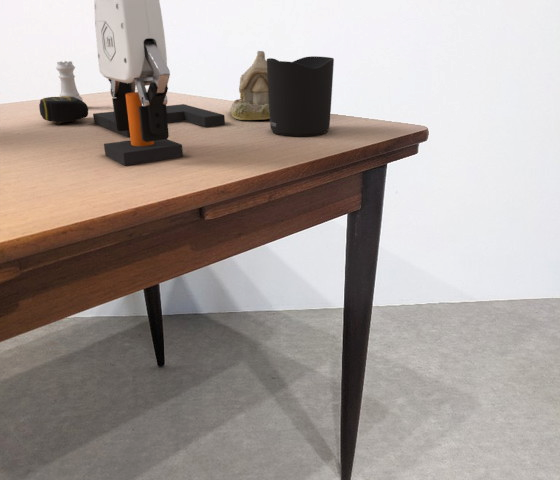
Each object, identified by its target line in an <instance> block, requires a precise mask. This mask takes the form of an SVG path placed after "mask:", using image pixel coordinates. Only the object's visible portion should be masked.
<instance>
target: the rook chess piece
mask: <svg viewBox="0 0 560 480" xmlns="http://www.w3.org/2000/svg"><path fill="white" fill-rule="evenodd" d="M56 63H57V65H56V67H55V69H56V70H57V71H58V73H59V75H58V78H59V81H60V94H59V97H75V98H77V99H79V100H81V101H83V97H82V96H81V95H80V93H79V90H78V89H77V85H76V81H75V78H76V75H75V74H74V70H75V69H76V66H75V65H74V63H73V61H71V60H70V61H67V60H65V61H57V62H56ZM83 102H84V101H83Z"/></svg>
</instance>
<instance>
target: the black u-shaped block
mask: <svg viewBox="0 0 560 480" xmlns="http://www.w3.org/2000/svg"><path fill="white" fill-rule="evenodd" d="M166 109H167V120H168V124H169V123H178V122H187V123H191V124H195V125H198V126H200V127H204V128H209V127H210V128H211V127H216V126H224V125H225V124H226V122H225V119H226V118H225V114H223V113H222V114H221V113H219V112H215V111H212V110H207V109H203V108H199V107H196V106H193V105H187V104H184V103H182V104H171V105H166ZM92 117H93V123H94V124H95V125H98V126H100V127H103V128H105V129H106V130H107V129H108V130H110V131H112V132H115V133H118V134H120V135H122V136H125V137H127V138H130V130H127V131H118V130H117V129H116V125H115V117H114V111H105V112H94V113H93V114H92Z"/></svg>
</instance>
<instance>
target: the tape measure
mask: <svg viewBox="0 0 560 480" xmlns="http://www.w3.org/2000/svg"><path fill="white" fill-rule="evenodd" d="M38 105H39V106H38V107H39V114H40V116H41V118H42V119H43V120H44V121H47V122H53V124H56V125H60V124H62V123H66V122H73V121H74V122H76V121H78V120H81V119H86V118H87V117H88V115H89V107H88V105H87V104H86V102H85V101H81V100H79V99H77V98H75V97H60V96H47V97H43V98H41V99H40V101H39V103H38Z"/></svg>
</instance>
